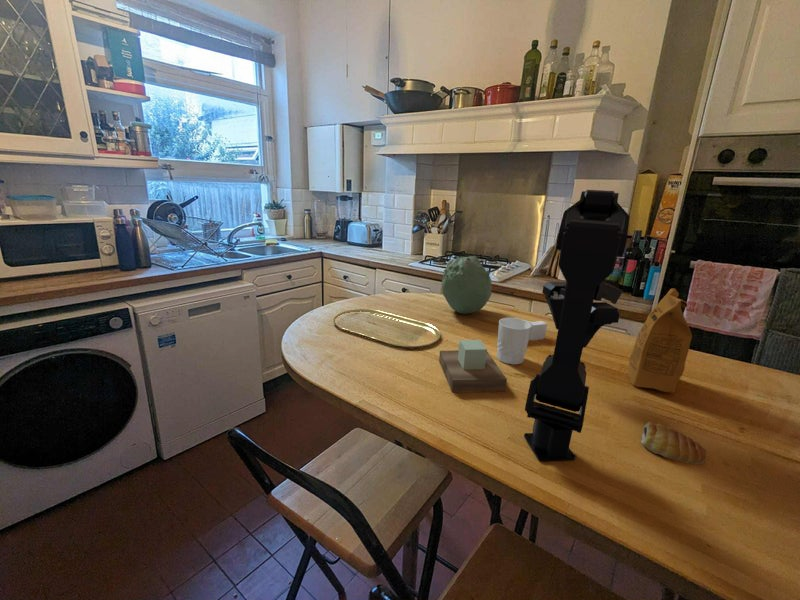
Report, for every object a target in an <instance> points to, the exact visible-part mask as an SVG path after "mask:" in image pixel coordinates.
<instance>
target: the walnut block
mask: <svg viewBox="0 0 800 600" xmlns="http://www.w3.org/2000/svg"><path fill="white" fill-rule="evenodd" d="M458 352H459V349H458V350H439V357H438V362H439V364H440V366H441V367H440V368H441V369H442V372H443V374H444V376H445V379H446V381H447V384H448V386H449V389H450V391H451V393H470V392H471V393H475V392H476V393H477V392H482V393H483V392H506V388H507V382H508V378H507V377H506V376H505V374H504V373H503V371H502V370H501V369H500V367H499V366H498V364H497V363H496V362H495V360H494V359H493V357H492V356H491V354H490V353H489V352H488V351H487V354H486V362H485V369H468V370H463V368H462V366H461V364H460V362H459V360H458Z"/></svg>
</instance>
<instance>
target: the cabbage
mask: <svg viewBox="0 0 800 600" xmlns="http://www.w3.org/2000/svg"><path fill="white" fill-rule="evenodd" d="M446 266H447V267H445V268H444V269H443V273H442V280H441V290H442V294H443V297H444V298H445V301H446V302H447V303H448V305H449V307H450V308H451V309H452V310H454V312H456V313H460V314H464V315H470V314H472V313H476V312H478V311H481V310H482V309H483V308H484V307H485V306H486V304H487V303H488V301H489V300H490V298H491V296H492V279H491V277H490V272H491V271H490V270H487V271H486V268H485V266H484V265H482V264H481V262H480V260H479V258H478V257H477V255H473V256H470V255H469V256H465V257H464V256H463V257H458V258H454V259H453V258H452V259H449V260H448V261H447V263H446Z"/></svg>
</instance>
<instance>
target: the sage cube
mask: <svg viewBox="0 0 800 600" xmlns="http://www.w3.org/2000/svg"><path fill="white" fill-rule="evenodd" d="M458 350H459V352H458V360H459V362H460V364H461V366H462V368H463V370H468V369H485V362H486V354H487V352H488V348H487V347H486V345H484V343H483V342H482V340H481V339H459V344H458Z"/></svg>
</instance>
